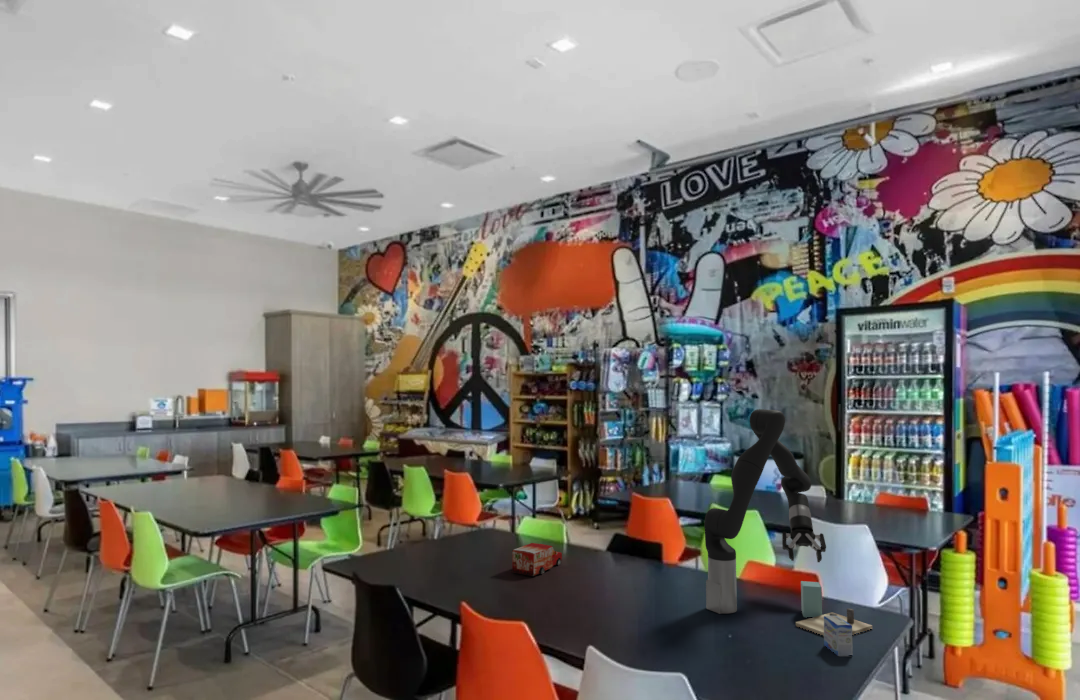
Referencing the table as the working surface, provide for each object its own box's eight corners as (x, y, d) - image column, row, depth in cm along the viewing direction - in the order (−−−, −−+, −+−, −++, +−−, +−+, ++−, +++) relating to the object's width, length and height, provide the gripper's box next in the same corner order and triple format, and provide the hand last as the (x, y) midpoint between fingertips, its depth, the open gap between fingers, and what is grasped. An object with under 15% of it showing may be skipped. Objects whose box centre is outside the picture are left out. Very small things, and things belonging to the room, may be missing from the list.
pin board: (835, 640, 197) (835, 622, 197) (795, 626, 209) (795, 609, 209) (872, 629, 206) (871, 612, 206) (832, 615, 218) (831, 599, 218)
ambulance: (565, 564, 281) (565, 540, 281) (533, 579, 260) (533, 553, 260) (543, 561, 287) (543, 537, 287) (510, 575, 266) (510, 549, 266)
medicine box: (823, 645, 193) (822, 615, 193) (838, 645, 193) (837, 615, 194) (838, 657, 185) (837, 625, 186) (853, 656, 186) (852, 624, 186)
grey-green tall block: (822, 618, 215) (821, 587, 216) (803, 617, 217) (803, 585, 217) (819, 612, 221) (818, 582, 221) (801, 611, 222) (800, 581, 223)
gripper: (780, 513, 242) (784, 553, 230) (822, 515, 238) (829, 555, 227) (779, 525, 247) (783, 564, 235) (820, 527, 243) (826, 567, 231)
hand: (805, 560), depth 231 cm, fingers open, 8 cm apart
